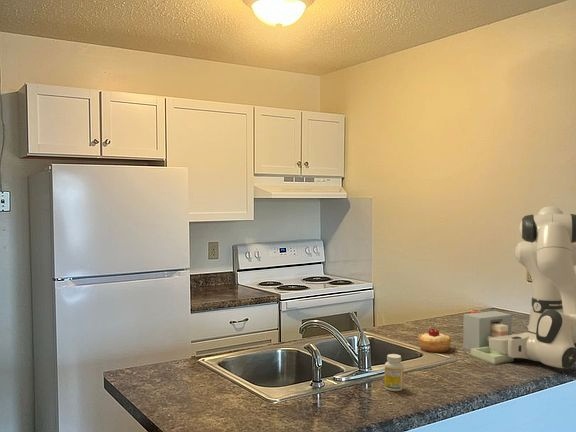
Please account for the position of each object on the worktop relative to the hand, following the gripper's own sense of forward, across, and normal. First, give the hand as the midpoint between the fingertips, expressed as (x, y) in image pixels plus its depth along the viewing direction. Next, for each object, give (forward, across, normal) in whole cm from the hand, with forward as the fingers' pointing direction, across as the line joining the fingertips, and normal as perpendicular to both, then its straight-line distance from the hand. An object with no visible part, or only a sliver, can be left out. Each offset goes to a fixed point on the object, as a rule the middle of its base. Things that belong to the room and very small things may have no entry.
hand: (498, 336), depth 198 cm
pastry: (+12, +19, +6) cm, 24 cm away
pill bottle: (+18, -7, +6) cm, 20 cm away
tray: (-6, +9, +5) cm, 12 cm away
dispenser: (+5, 0, +5) cm, 7 cm away
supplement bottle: (-17, +59, +6) cm, 62 cm away
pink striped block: (0, 0, +6) cm, 6 cm away
